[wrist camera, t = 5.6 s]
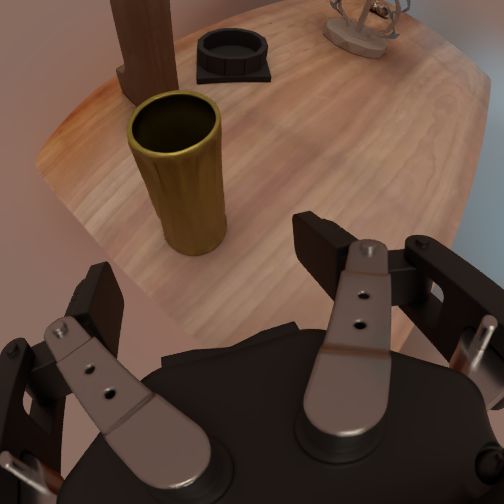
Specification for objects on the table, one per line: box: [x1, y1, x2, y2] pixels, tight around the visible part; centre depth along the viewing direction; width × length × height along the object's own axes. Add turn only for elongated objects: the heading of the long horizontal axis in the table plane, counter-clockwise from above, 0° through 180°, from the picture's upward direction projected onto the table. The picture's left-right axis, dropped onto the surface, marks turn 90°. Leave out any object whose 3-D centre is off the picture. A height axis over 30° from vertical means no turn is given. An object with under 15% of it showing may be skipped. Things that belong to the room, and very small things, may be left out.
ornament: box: [370, 0, 390, 18], centre depth 50 cm, size 8×7×4 cm
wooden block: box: [110, 0, 179, 107], centre depth 24 cm, size 9×4×18 cm, turn 41°
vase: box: [127, 90, 227, 255], centre depth 21 cm, size 6×6×14 cm
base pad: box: [197, 28, 271, 84], centre depth 34 cm, size 10×10×4 cm
